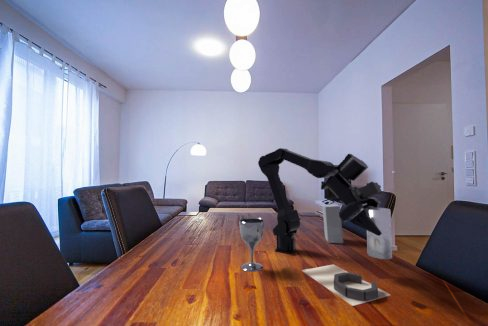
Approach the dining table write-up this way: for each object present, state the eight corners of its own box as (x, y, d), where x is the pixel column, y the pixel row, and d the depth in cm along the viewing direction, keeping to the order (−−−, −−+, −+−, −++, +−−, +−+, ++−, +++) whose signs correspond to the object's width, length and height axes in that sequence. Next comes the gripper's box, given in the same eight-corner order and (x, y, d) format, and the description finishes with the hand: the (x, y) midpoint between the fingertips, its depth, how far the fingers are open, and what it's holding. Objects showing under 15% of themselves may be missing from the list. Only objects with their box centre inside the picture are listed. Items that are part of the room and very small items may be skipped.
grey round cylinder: (372, 258, 60) (371, 210, 61) (364, 250, 66) (362, 207, 66) (396, 259, 59) (394, 211, 60) (385, 251, 65) (384, 207, 66)
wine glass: (266, 263, 74) (266, 218, 75) (260, 273, 66) (260, 223, 67) (244, 260, 77) (244, 217, 77) (236, 270, 69) (235, 221, 70)
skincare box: (343, 244, 93) (342, 206, 94) (325, 243, 95) (324, 206, 96) (339, 238, 102) (338, 203, 102) (322, 237, 103) (322, 203, 104)
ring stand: (301, 273, 66) (301, 263, 66) (333, 267, 70) (333, 257, 71) (352, 310, 49) (352, 296, 49) (391, 299, 53) (390, 286, 53)
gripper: (349, 173, 60) (398, 220, 52) (373, 172, 73) (415, 210, 64) (322, 199, 66) (363, 246, 57) (349, 195, 78) (385, 232, 70)
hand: (384, 232), depth 62 cm, fingers closed on grey round cylinder, 6 cm apart
